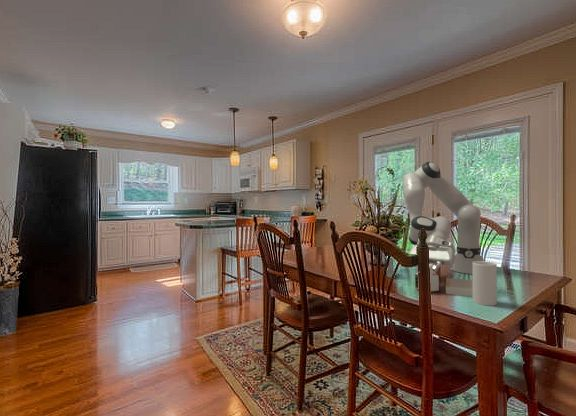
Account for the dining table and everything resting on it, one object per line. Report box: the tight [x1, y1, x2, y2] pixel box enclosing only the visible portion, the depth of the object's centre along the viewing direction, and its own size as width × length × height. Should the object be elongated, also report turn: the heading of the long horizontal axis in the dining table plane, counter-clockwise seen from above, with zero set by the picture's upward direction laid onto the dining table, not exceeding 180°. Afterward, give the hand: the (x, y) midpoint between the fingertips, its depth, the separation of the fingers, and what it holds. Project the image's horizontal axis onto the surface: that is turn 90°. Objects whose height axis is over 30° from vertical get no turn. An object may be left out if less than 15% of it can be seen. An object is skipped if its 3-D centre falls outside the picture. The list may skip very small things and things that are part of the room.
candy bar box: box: [381, 252, 394, 277], centre depth 168 cm, size 11×5×16 cm, turn 168°
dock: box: [445, 276, 473, 298], centre depth 140 cm, size 18×12×3 cm, turn 152°
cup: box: [472, 260, 498, 307], centre depth 123 cm, size 8×8×16 cm
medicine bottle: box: [414, 263, 440, 292], centre depth 139 cm, size 7×7×12 cm
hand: (426, 269), depth 139 cm, fingers closed on medicine bottle, 6 cm apart
